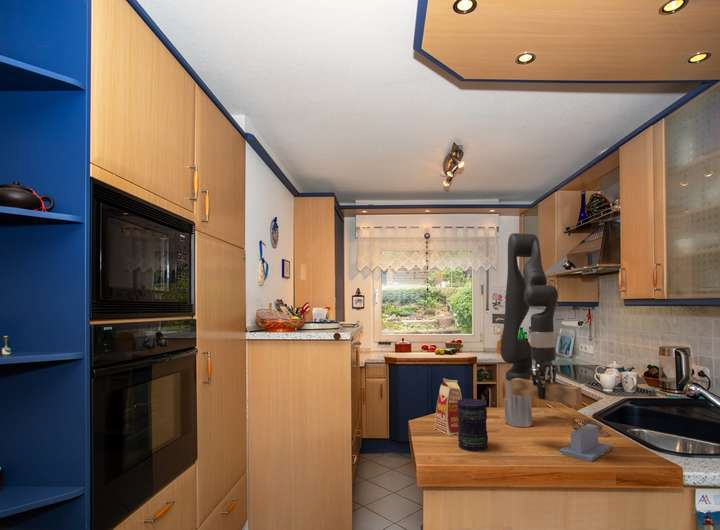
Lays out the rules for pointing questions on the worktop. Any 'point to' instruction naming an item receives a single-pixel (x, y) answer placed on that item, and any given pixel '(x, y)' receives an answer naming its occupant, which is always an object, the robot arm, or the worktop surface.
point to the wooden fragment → (600, 432)
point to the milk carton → (448, 407)
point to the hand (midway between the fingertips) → (545, 397)
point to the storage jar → (472, 425)
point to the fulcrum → (585, 444)
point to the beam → (548, 391)
